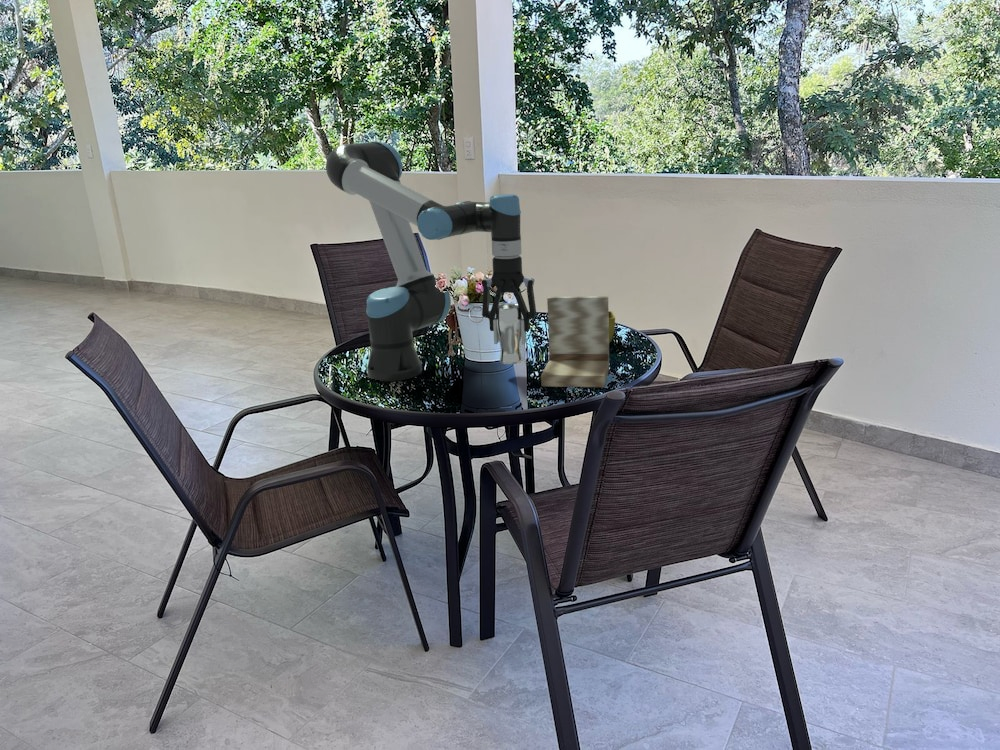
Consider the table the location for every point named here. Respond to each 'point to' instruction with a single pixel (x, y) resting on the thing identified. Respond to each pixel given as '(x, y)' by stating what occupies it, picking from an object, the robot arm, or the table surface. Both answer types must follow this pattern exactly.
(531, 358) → the table surface
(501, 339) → the beer glass
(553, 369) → the beige brown l-shaped block
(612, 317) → the flower pot
